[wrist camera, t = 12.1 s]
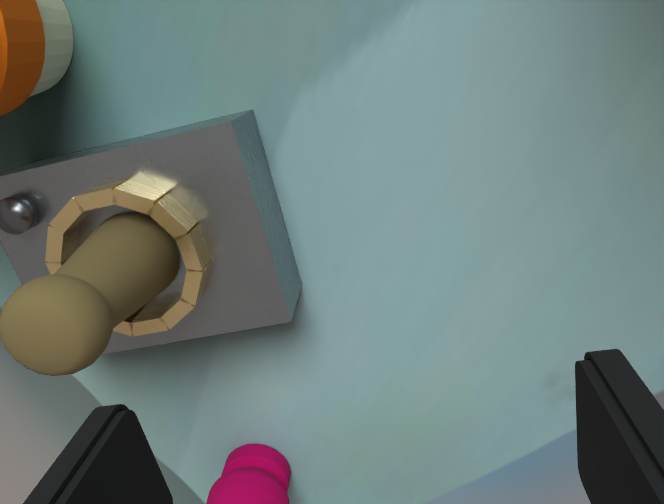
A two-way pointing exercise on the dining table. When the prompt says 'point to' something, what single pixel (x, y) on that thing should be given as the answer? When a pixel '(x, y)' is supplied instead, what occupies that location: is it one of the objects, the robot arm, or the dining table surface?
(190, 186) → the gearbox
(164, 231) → the cork
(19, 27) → the reusable coffee cup
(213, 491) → the pepper mill
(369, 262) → the dining table surface
